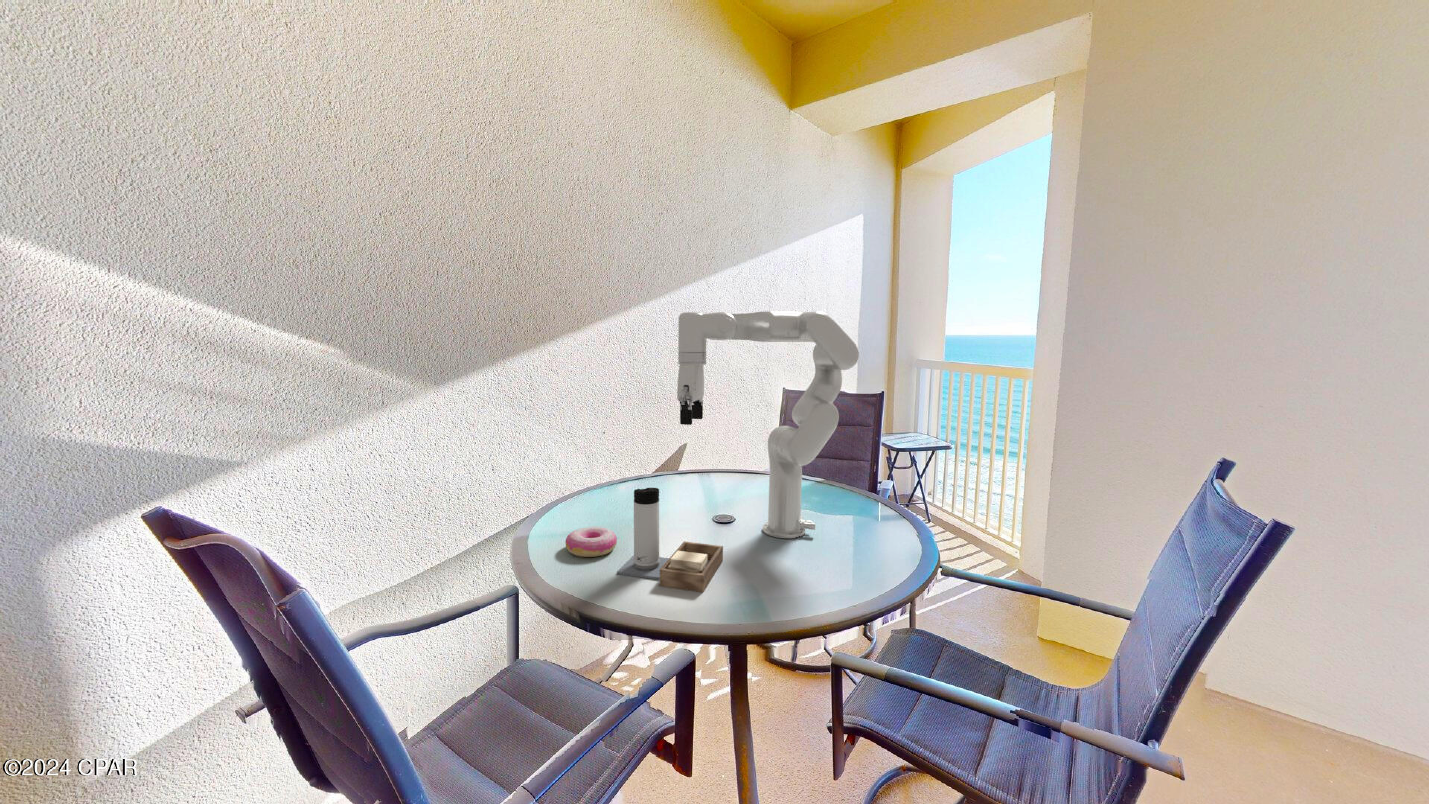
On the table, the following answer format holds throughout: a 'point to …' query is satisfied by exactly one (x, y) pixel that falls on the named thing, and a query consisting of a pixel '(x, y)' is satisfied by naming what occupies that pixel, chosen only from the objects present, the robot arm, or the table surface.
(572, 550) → the donut
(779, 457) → the robot arm
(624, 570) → the slate mat
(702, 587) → the wooden tray
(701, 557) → the maple offcut stack
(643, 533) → the travel mug
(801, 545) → the table surface
